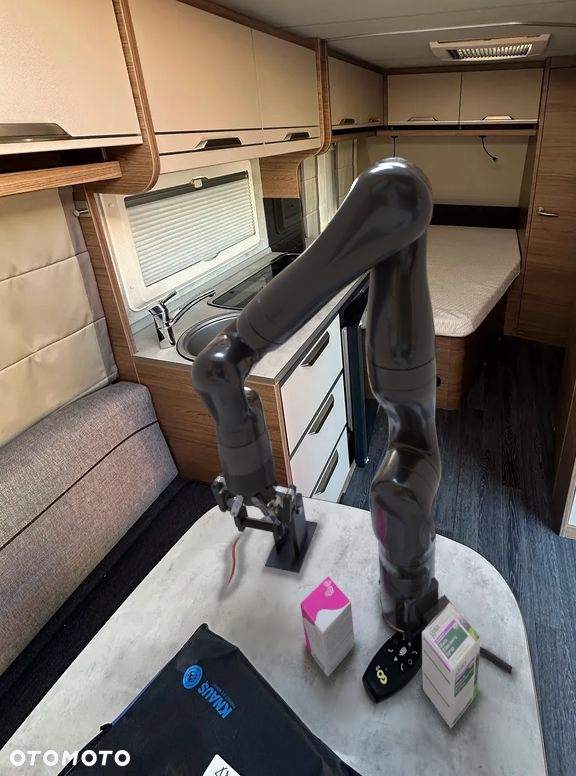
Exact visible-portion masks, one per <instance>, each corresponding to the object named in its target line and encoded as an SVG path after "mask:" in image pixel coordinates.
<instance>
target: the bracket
mask: <svg viewBox="0 0 576 776" xmlns="http://www.w3.org/2000/svg"><path fill="white" fill-rule="evenodd" d="M280 501H281V500H280ZM304 505H305V504H304V499H303V494H302V493H301V492H296V510H295V513H294V515H293V517H292V519H291V522H290V524H287V529H286V531H285V533H284V535H283V536H281V539H276V538H275V534H274V533H273V532H272V536H273V543H274V544H273V546H272V548H271V550H270V552H269V555H268V557H267V559H266V561H265V563H264V566H265V567H270V568H273V569H278V570H283V571H288V572H292V573H296V574H300V572H301V569H302V567H303V564H304V562H305V558H306V555H307V554H308V550H309V547H310V546H311V542H312V539H313V538H314V537H313V536H314V534H315V531H316V528H317V526H318V522H316V521H310V520H307V518H306V512H305V506H304ZM275 510H276V509H275Z"/></svg>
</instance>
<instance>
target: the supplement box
mask: <svg viewBox="0 0 576 776" xmlns="http://www.w3.org/2000/svg"><path fill="white" fill-rule="evenodd" d="M352 611H353V610H352V602H351V600H350V599H349V598H348V597H347V596H346V595H345V593H343V591H342V590H341V589H340V588H339V587H338V586H337V584H336V583H335V582H334V581H333V580H332V579H331V578H330V576H326V578H325V579H324V580H322V581H321V583H319V585H318V586H316V588H315V589H314V590H313V591H312V592H310V593H309V595H308V596H306V597H305V598H304V599H303V600H302V601H301V602H300V612H301V616H302V617H301V618H302V624H303V633H304V638H305V645H306V648H307V650H308V652H309V653H310V655H311V656H312V657H313V659H314V660H315V662H316V663H317V665H318V666H319V668H321V670H322V671H323V672H324V674H325V675H326V676H327V677H330V675H332V673H333V672H334V670H336V669H337V667H338V666H339V664H341V662H342V661H343V660H344V658H345V657H346V656H347V655H348V654H349V653H350V652H351V650H352V649H353V648H354V646H355V633H354V632H355V631H354V622H353V612H352Z"/></svg>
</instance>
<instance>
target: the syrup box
mask: <svg viewBox="0 0 576 776" xmlns="http://www.w3.org/2000/svg"><path fill="white" fill-rule="evenodd" d="M452 605H453V604H452V602H451V603H449V604H448V605H447V606H446V607H445V608H444V609H443V610H442V611H441V612H440V613H439V614H438V615H437V616H436V617H435V618H434V619H433V620H432V621H431V622H430V624H429V625H428V626H427V627H426V628H425V629H424V630H423V631H422V633H421V660H422V661H421V662H422V663H421V664H422V665H421V666H422V669H421V671H422V690H423V691H424V693H425V694H426V695H427V697H428V699H429V700H430V701H431V703H432V704H433V706H434V707H435V709H436V710H437V712H438V713H439V714H440V716H441V717H442V718H443V720H444V721H445V723H446V724H447V726H448V727H449V729H452V728H453V727H454V726H455V724H457V722H458V721H459V720H460V719H461V717H462V716H463V714H464V713H465V712H466V711H467V709H468V708H469V706H470V705H471V704H472V702H473V701H474V699H475V698H476V697H477V695H478V681H479V678H478V677H479V667H480V647H481V636H480V634H479V633H478V632H477V630H475V629H474V627H473V626H472V625H471V624H470V623H469V621H468V620H467V619H466V618H465V617H464V616H463V615H462V614H461V613H460V612H459V611H458V609H457V608H456V607H454V605H453V606H452Z"/></svg>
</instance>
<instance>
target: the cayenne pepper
mask: <svg viewBox="0 0 576 776" xmlns="http://www.w3.org/2000/svg"><path fill="white" fill-rule="evenodd" d="M239 539H240V536H238V537H237V538H236V539H235V541H234V542H233V543H232V548H231V551H232V552H231V555H232V556H231V557H232V568H231V573H230V577H229V579H228V582H227V585H229V584H230V583H231V580H232V579H233V576H234V574H235V570H236V561H237V560H236V545H237V543H238V540H239Z"/></svg>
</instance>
